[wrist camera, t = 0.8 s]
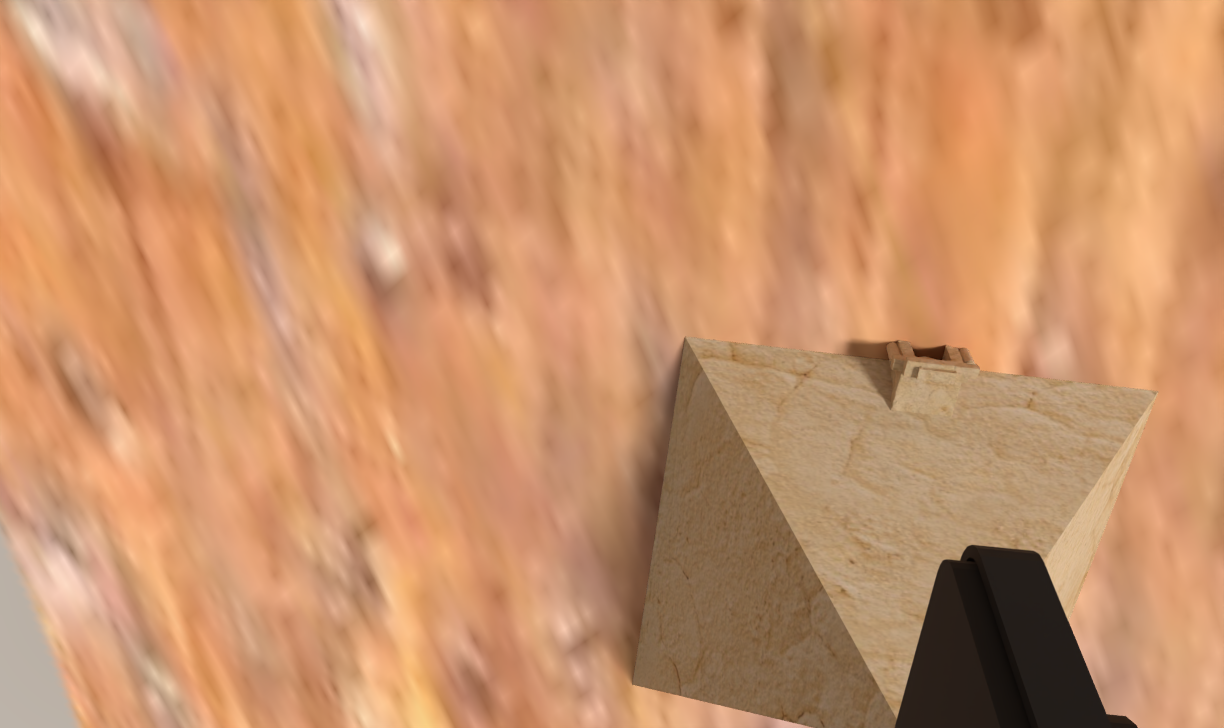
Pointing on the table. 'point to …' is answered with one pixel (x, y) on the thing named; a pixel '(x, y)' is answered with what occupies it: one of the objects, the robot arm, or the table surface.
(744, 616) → the model pyramid
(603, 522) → the table surface
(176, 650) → the table surface
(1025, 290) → the table surface
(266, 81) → the table surface
